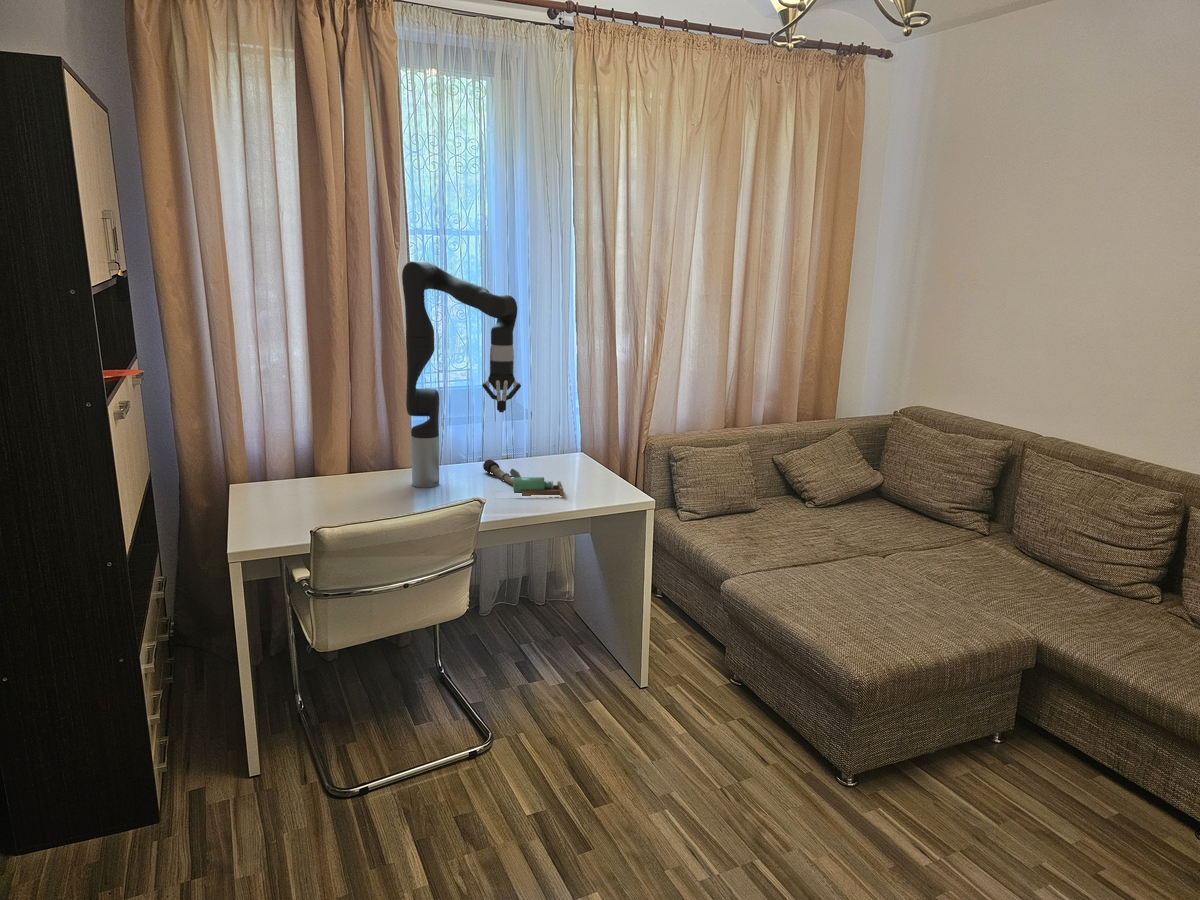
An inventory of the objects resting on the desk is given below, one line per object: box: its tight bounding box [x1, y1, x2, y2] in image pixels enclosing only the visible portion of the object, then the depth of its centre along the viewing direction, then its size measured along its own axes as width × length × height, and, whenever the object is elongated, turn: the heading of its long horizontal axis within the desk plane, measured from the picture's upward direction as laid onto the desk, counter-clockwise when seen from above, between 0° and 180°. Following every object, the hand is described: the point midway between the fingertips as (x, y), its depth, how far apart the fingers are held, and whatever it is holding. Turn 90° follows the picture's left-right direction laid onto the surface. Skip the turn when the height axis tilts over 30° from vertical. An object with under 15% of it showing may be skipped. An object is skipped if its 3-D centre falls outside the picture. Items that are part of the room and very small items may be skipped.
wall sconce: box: [482, 459, 522, 486], centre depth 289 cm, size 5×6×30 cm
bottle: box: [512, 476, 554, 493], centre depth 273 cm, size 5×5×13 cm
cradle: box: [522, 481, 564, 497], centre depth 273 cm, size 9×22×4 cm, turn 99°
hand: (501, 411), depth 266 cm, fingers closed
